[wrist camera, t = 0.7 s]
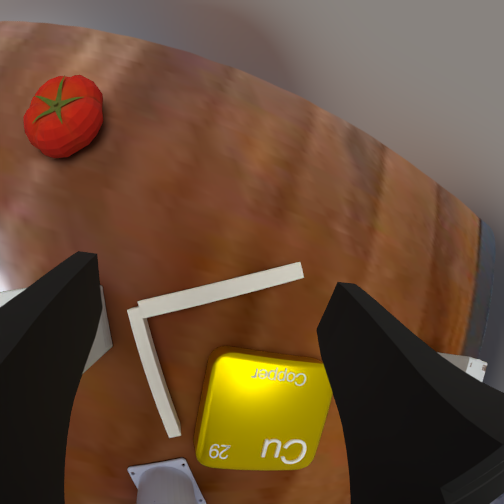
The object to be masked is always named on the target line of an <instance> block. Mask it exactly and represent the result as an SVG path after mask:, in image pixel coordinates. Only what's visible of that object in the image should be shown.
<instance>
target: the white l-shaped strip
mask: <svg viewBox="0 0 504 504" xmlns="http://www.w3.org/2000/svg"><path fill="white" fill-rule="evenodd" d="M301 278H304V276H303V272H302V267H301V263H300V262H297V263H293V264H288V265H284V266H280V267H276V268H272V269H268V270H264V271H260V272H256V273H252V274H248V275H244V276H240V277H236V278H232V279H228V280H224V281H220V282H216V283H212V284H208V285H204V286H199V287H195V288H191V289H187V290H183V291H178V292H174V293H170V294H166V295H161V296H157V297H153V298H148V299H144V300H140V301H138V306H137V307H133V308H130V309H128V310H127V312H128V316H129V319H130V323H131V327H132V331H133V334H134V338H135V341H136V345H137V348H138V351H139V355H140V358H141V361H142V364H143V368H144V371H145V374H146V377H147V380H148V383H149V386H150V389H151V391H152V394H153V397H154V400H155V403H156V405H157V408H158V411H159V413H160V416H161V419H162V421H163V424H164V426H165V429H166V431H167V434H168V436H169V438H172V437H177V436H181V427H180V421H179V418H178V416H177V413H176V410H175V408H174V405H173V402H172V399H171V396H170V393H169V390H168V387H167V384H166V381H165V378H164V375H163V372H162V369H161V366H160V363H159V359H158V356H157V353H156V350H155V346H154V343H153V339H152V336H151V332H150V328H149V325H148V321H147V317H152V316H156V315H160V314H165V313H169V312H173V311H177V310H182V309H186V308H190V307H194V306H198V305H202V304H206V303H210V302H214V301H218V300H222V299H226V298H230V297H234V296H238V295H242V294H245V293H249V292H253V291H257V290H260V289H264V288H268V287H272V286H275V285H279V284H283V283H286V282H290V281H294V280H297V279H301Z"/></svg>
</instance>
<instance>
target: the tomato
mask: <svg viewBox="0 0 504 504" xmlns="http://www.w3.org/2000/svg"><path fill="white" fill-rule="evenodd" d="M102 102H103V97H102V93H101V92H100V90H99V89H98V87H97V86H96V85H95V83H94V82H93V81H91V80H89V79H87V78H85V77H83V76H81V75H75V76H72V77H65V76H58V77H56V78H53V79H50V80H48V81H47V82H46V83H45V84H44V85H42V86H41V87H40V88H39V90H38V91H37V93H36V94H35V96H34V97H33V99H32V101H31V104H30V108H29V109H28V110H27V111H26V113H25V115H24V129H25V133H26V135H27V137H28V139H29V141H30V142H31V144H32V145H33V146H35V147H36V148H38V149H40V150H41V152H42V153H43V154H45V155H46V156H49V157H52V158H62V157H69V156H70V155H72V154H74V153H75V152H77V151H79V150H80V149H82V148H84V147H86V146H87V145H89V144H90V143H91V141H92V140H93V139H94V138H95V137H96V135H97V133H98V131H99V129H100V127H101V125H102V123H103V115H102Z"/></svg>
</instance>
